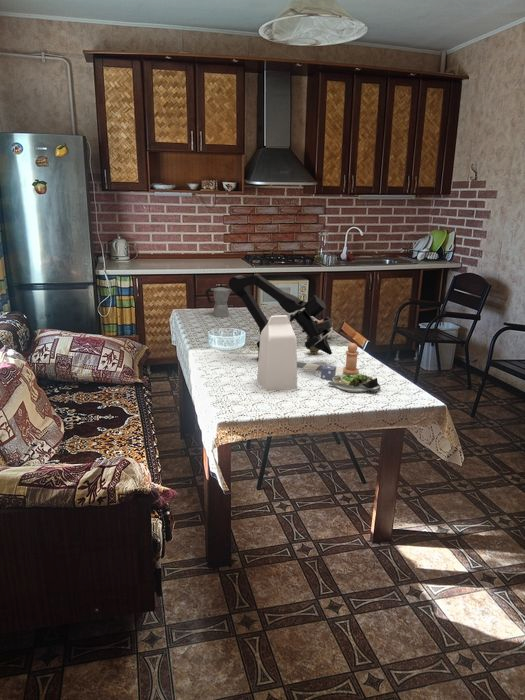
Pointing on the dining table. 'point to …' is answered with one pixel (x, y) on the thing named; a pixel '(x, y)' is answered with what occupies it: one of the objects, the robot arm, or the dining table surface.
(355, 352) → the pawn
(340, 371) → the board
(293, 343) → the milk
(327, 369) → the die
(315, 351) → the cup
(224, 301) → the coffeepot
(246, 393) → the dining table surface
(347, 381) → the salad plate
